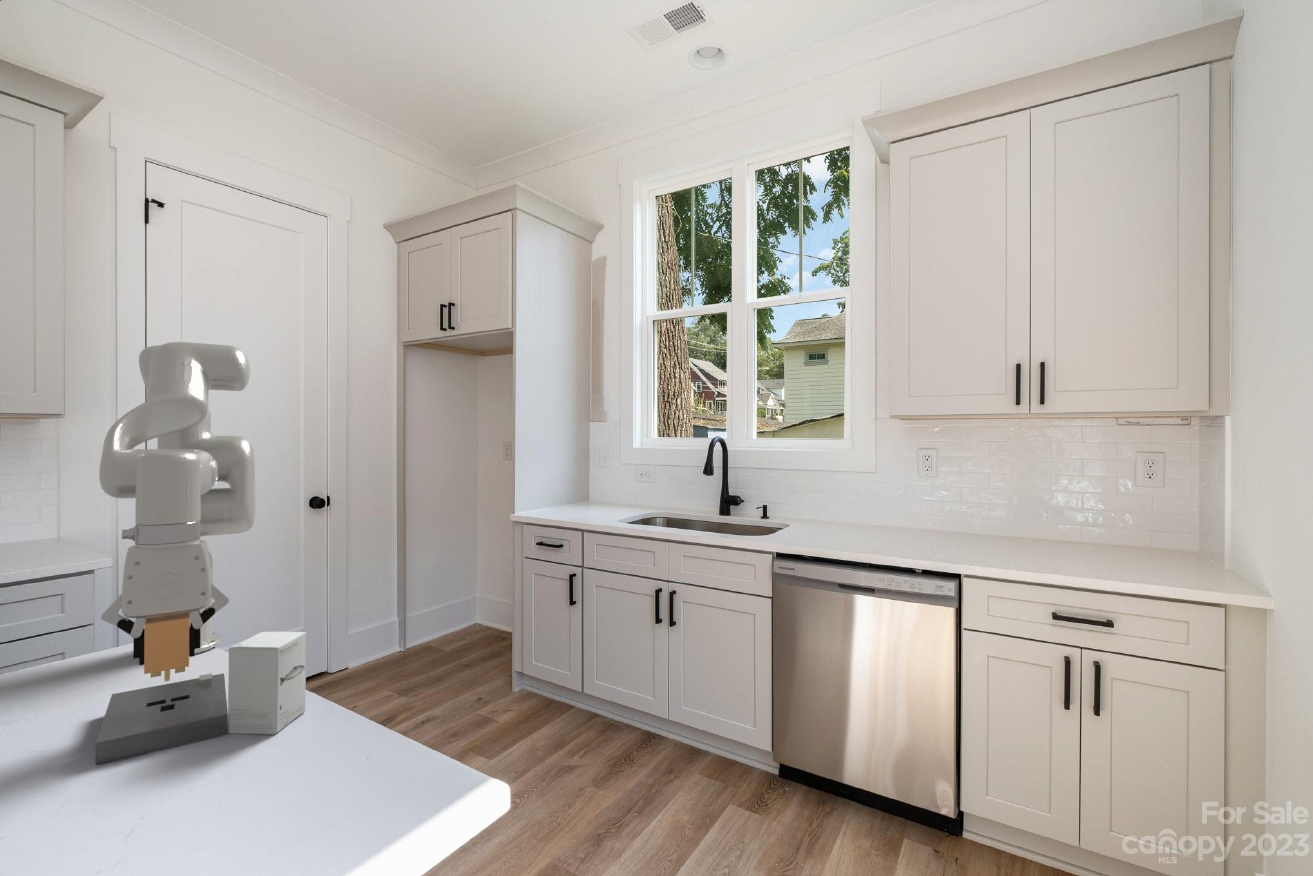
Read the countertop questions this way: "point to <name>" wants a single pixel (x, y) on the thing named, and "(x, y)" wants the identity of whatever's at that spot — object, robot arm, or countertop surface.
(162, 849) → the countertop surface
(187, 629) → the orange block
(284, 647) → the supplement box
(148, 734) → the dark gray rectangular board
